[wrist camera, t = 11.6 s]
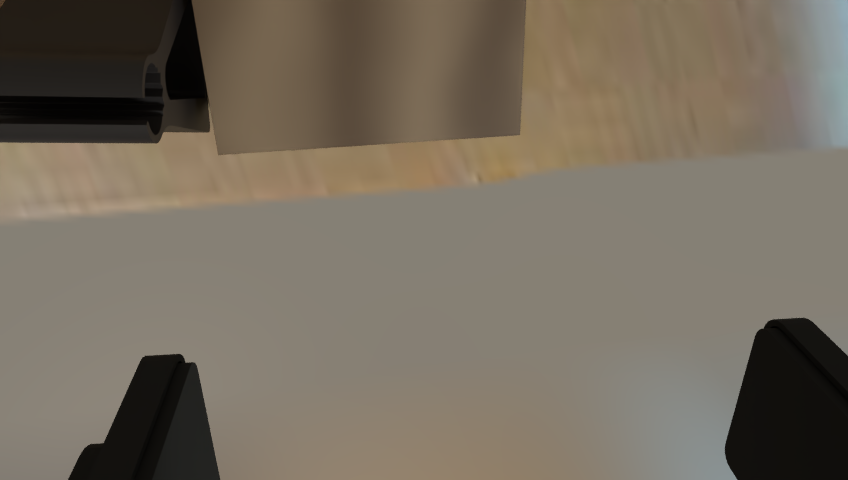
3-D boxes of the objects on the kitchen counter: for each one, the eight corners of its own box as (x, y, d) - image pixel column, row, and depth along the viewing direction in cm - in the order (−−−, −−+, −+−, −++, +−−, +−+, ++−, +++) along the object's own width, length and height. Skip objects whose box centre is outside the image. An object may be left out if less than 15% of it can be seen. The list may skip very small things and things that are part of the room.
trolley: (503, -78, 32) (529, -74, 28) (498, 108, 36) (520, 135, 32) (198, -69, 30) (181, -63, 26) (230, 125, 35) (218, 154, 31)
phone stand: (52, -70, 30) (-98, -48, 19) (193, -62, 31) (126, -37, 20) (86, 128, 34) (-22, 236, 23) (210, 130, 35) (161, 235, 24)
